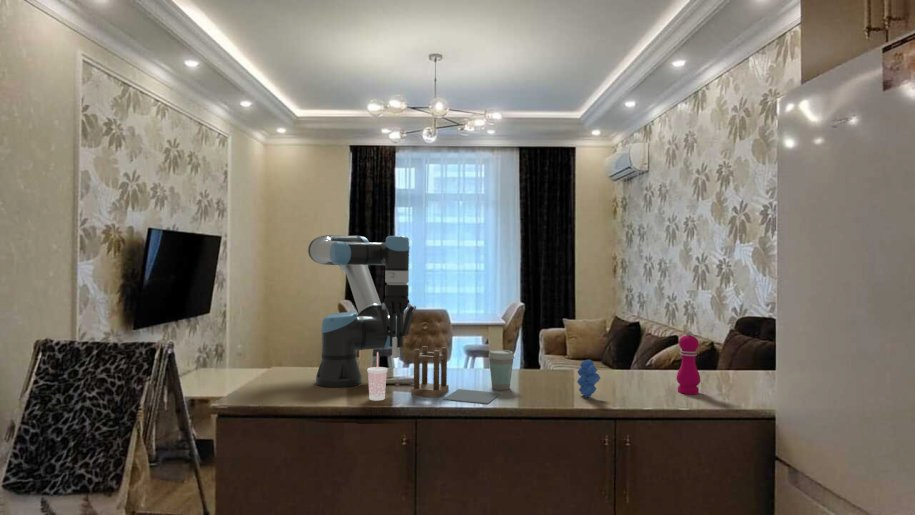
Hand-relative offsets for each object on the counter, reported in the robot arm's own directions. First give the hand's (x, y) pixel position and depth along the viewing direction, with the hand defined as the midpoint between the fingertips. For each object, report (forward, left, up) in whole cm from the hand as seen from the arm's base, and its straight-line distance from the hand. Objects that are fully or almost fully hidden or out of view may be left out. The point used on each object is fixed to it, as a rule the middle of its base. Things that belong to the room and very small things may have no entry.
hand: (396, 357), depth 190 cm
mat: (+26, 0, -10) cm, 28 cm away
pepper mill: (+89, +32, -11) cm, 95 cm away
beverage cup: (0, -13, -11) cm, 17 cm away
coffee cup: (+31, +15, -11) cm, 36 cm away
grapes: (+60, +13, -11) cm, 62 cm away
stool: (+12, 0, -11) cm, 16 cm away
